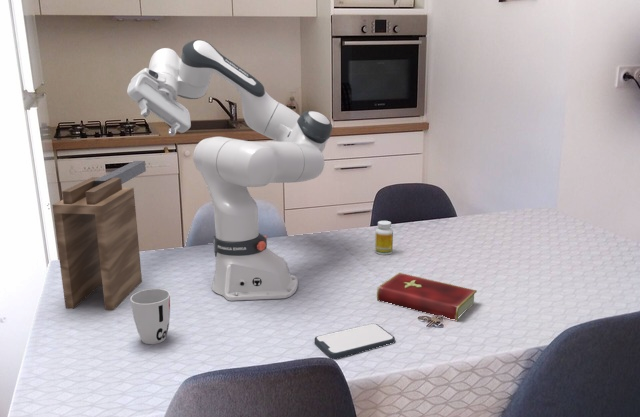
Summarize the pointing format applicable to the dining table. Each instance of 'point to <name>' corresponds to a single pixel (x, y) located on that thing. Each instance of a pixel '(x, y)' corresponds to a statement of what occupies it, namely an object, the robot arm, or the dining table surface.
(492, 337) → the dining table surface
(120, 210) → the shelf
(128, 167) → the bar
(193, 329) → the dining table surface
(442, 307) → the hardcover book
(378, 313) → the dining table surface
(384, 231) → the supplement bottle
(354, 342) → the smartphone
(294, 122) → the robot arm
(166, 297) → the cup
